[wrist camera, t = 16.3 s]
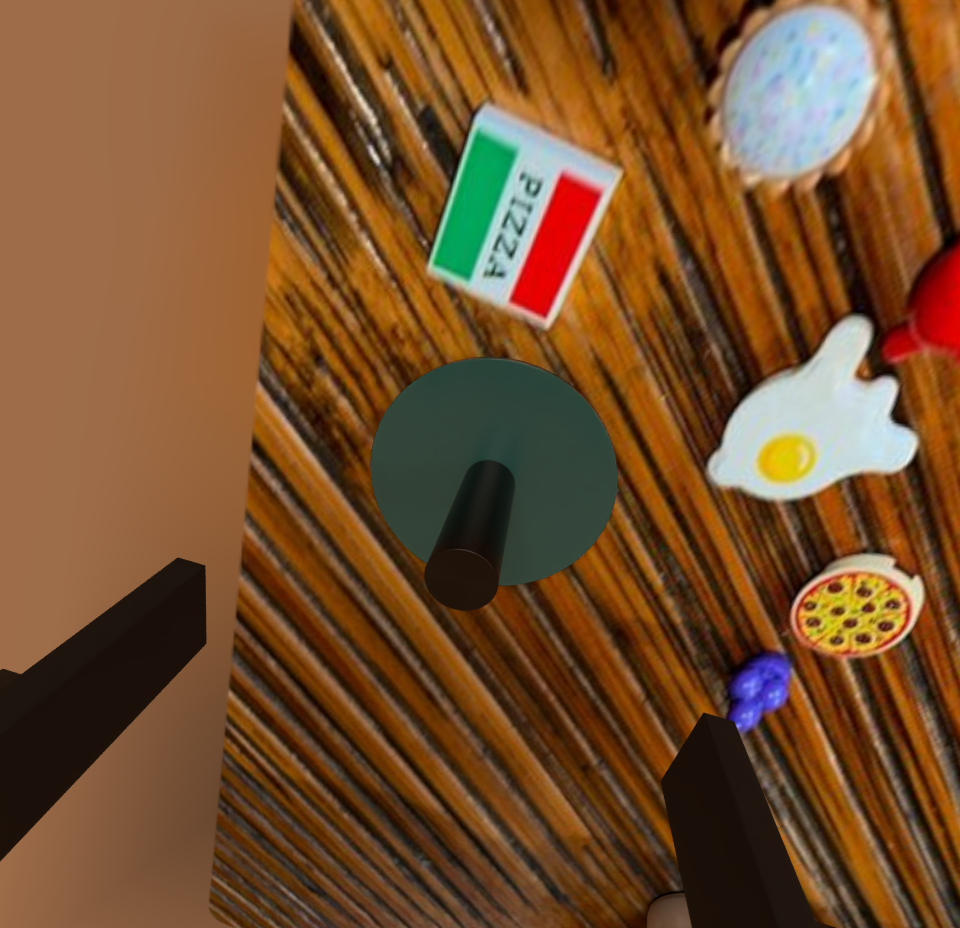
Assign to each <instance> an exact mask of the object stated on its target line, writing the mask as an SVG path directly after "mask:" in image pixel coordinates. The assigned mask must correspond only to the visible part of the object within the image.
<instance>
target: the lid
mask: <svg viewBox="0 0 960 928" xmlns="http://www.w3.org/2000/svg"><path fill="white" fill-rule="evenodd" d="M370 466H371V480H372V485H373V490H374V495H375V498H376V501H377V504H378V507H379V509H380V511H381V513H382V515H383V517H384V519H385V521H386V522H387V524H388V525H389V527H390V529H391V530H392V532H393V533H394V534H395V535H396V537H397V538H398V539H399V540H400V541H401V543H402V544H403V545H404V546H405V547H406V548H407V549H409V550H410V551H411V552H412V553H413V554H414V555H415V556H417V557H418V558H419V559H421V560H422V561H423V562H425V563H426V564H427V565H426V568H425V573H424V578H425V583H426V586H427V588H428V590H429V592H430V594H431V595H432V596H433V597H434V598H435V599H436V600H437V601H438V602H440V603H441V604H443V605H445V606H447V607H449V608H452V609H455V610H461V611H470V610H476V609H479V608H481V607H483V606H485V605H486V604H488V603H489V602H490V601H491V600H492V599H493V598H494V596H495V594H496V592H497V589H498V586H508V585H518V584H524V583H529V582H533V581H537V580H540V579H543V578H546V577H549V576H551V575H553V574H555V573H557V572H559V571H561V570H563V569H565V568H566V567H568V566H569V565H571V564H572V563H574V562H575V561H576V560H578V559H579V558H580V557H581V556H582V555H584V554H585V553H586V552H587V551H588V550H589V548H590V547H591V546H592V545H593V544H594V543H595V542H596V540H597V539H598V537H599V536H600V534H601V533H602V532H603V530H604V528H605V526H606V524H607V522H608V520H609V518H610V516H611V513H612V510H613V506H614V503H615V498H616V492H617V476H618V471H617V464H616V456H615V453H614V449H613V446H612V442H611V439H610V437H609V434H608V432H607V430H606V428H605V426H604V423H603V422H602V420H601V419H600V417H599V415H598V414H597V412H596V411H595V409H594V408H593V407H592V406H591V404H590V403H589V402H588V401H587V400H586V399H585V397H584V396H583V395H582V394H580V393H579V392H578V391H577V390H576V389H575V388H574V387H573V386H571V385H570V384H569V383H567V382H566V381H564V380H563V379H561V378H560V377H558V376H557V375H555V374H553V373H551V372H549V371H547V370H545V369H543V368H541V367H539V366H536V365H533V364H530V363H527V362H524V361H520V360H515V359H510V358H503V357H475V358H467V359H462V360H458V361H453V362H450V363H448V364H445V365H442V366H439V367H437V368H435V369H433V370H431V371H429V372H427V373H425V374H424V375H422V376H421V377H419V378H418V379H417V380H415V381H414V382H412V383H411V384H410V385H408V386H407V387H406V388H405V389H404V390H403V391H402V392H401V393H400V394H399V395H398V396H397V397H396V398H395V400H394V401H393V402H392V404H391V405H390V406H389V408H388V409H387V411H386V412H385V414H384V416H383V418H382V419H381V421H380V423H379V426H378V429H377V431H376V434H375V437H374V442H373V446H372V451H371V464H370Z"/></svg>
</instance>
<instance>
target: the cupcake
mask: <svg viewBox="0 0 960 928" xmlns="http://www.w3.org/2000/svg"><path fill="white" fill-rule="evenodd" d="M647 928H692V926H691V922H690V917H689V912H688V908H687V903H686V898H685V893H676V894H670V895H666V896H663V897H660V898H658V899H657V900H655V901H654V902H653V903H652V904H651V905H650V908H649V911H648V915H647Z"/></svg>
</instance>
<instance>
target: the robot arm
mask: <svg viewBox="0 0 960 928" xmlns="http://www.w3.org/2000/svg"><path fill="white" fill-rule="evenodd" d="M205 578H206V576H205V565H201V564H198V563H195V562H192V561H188V560H185V559H181V558H176V559H175V560H174V561H172V562H171V563H170V564H168V565H167V566H166V567H164V568H163V569H162V570H161V571H159V572H158V573H156V574H155V575H154V576H152V577H151V578H150V579H148V580H147V581H146V582H145V583H143V584H142V585H140V586H139V587H138V588H136V589H135V590H134V591H132V592H131V593H130V594H128V595H127V596H126V597H124V598H123V599H122V600H120V601H119V602H117V603H116V604H115V605H114V606H112V607H111V608H109V609H108V610H107V611H106V612H104V613H103V614H101V615H100V616H99V617H98V618H96V619H95V620H93V621H92V622H91V623H89V624H88V625H87V626H85V627H84V628H83V629H81V630H80V631H79V632H77V633H76V634H75V635H73V636H72V637H71V638H69V639H68V640H67V641H65V642H64V643H63V644H61V645H60V646H59V647H57V648H56V649H55V650H53V651H52V652H51V653H49V654H48V655H47V656H45V657H44V658H43V659H41V660H40V661H39V662H37V663H36V664H35V665H33V666H32V667H31V668H29V669H28V670H26V671H25V672H24V673H22V674H18V673H15V672H12V671H9V670H5V669H2V670H0V861H1V860H2V859H3V858H4V857H5V856H6V855H7V854H8V853H9V852H10V851H11V849H12V848H13V847H14V846H15V845H16V844H17V843H18V842H19V841H20V840H21V839H22V838H23V837H24V836H25V835H26V834H27V833H28V831H29V830H30V829H31V828H32V827H33V826H34V825H35V824H36V823H37V822H38V821H39V820H40V819H41V818H42V817H43V816H44V814H46V812H47V811H48V810H49V809H50V808H51V807H52V806H53V805H54V804H55V803H56V802H57V801H58V800H59V799H60V798H61V797H62V796H63V794H64V793H65V792H66V791H67V790H68V789H69V788H70V787H71V786H72V785H73V784H74V783H75V782H76V781H77V780H78V779H79V778H80V777H81V775H82V774H83V773H84V772H85V771H86V770H87V769H88V768H89V767H90V766H91V765H92V764H93V763H94V762H95V761H96V759H98V757H99V756H100V755H101V754H102V753H103V752H104V751H105V750H106V749H107V748H108V747H109V746H110V745H111V744H112V743H113V742H114V741H115V739H117V737H118V736H119V735H120V734H121V733H122V732H123V731H124V730H125V729H126V728H127V727H128V726H129V725H130V724H131V723H132V722H133V721H134V719H135V718H136V717H137V716H138V715H139V714H140V713H141V712H142V711H143V710H144V709H145V708H146V707H147V706H148V705H149V703H151V701H152V700H153V699H154V698H155V697H156V696H157V695H158V694H159V693H160V692H161V691H162V690H163V689H164V688H165V687H166V686H167V685H168V684H169V682H170V681H171V680H172V679H173V678H174V677H175V676H176V675H177V674H178V673H179V672H180V671H181V670H182V669H183V668H184V667H185V666H186V664H187V663H188V662H189V661H190V660H191V659H192V658H193V657H194V656H195V655H196V654H197V653H198V652H199V651H200V650H201V649H202V647H204V646H205V644H206V584H205V583H206V579H205ZM661 785H662V790H663V795H664V799H665V804H666V809H667V813H668V818H669V823H670V828H671V832H672V837H673V842H674V846H675V851H676V856H677V860H678V865H679V870H680V875H681V879H682V884H683V889H684V893H685V898H686V903H687V908H688V912H689V917H690V922H691V926H692V928H835V927H832V926H829V925H825V924H822V923H819V922H816V921H815V919H814V917H813V914H812V912H811V909H810V907H809V904H808V902H807V900H806V897H805V895H804V892H803V890H802V887H801V885H800V882H799V880H798V877H797V875H796V872H795V870H794V868H793V865H792V863H791V860H790V858H789V855H788V853H787V850H786V848H785V845H784V843H783V840H782V838H781V836H780V833H779V831H778V828H777V826H776V823H775V821H774V818H773V816H772V813H771V811H770V808H769V806H768V804H767V801H766V799H765V796H764V794H763V791H762V789H761V786H760V784H759V781H758V779H757V776H756V774H755V772H754V769H753V767H752V764H751V762H750V759H749V757H748V754H747V752H746V749H745V747H744V744H743V742H742V740H741V737H740V735H739V732H738V730H737V727H736V725H735V722H734V721H730V720H727V719H724V718H720V717H717V716H714V715H710V714H707V713H703V714H702V716H701V717H700V719H699V721H698V722H697V724H696V725H695V727H694V729H693V730H692V732H691V733H690V735H689V737H688V738H687V740H686V741H685V743H684V745H683V746H682V748H681V749H680V751H679V753H678V754H677V756H676V757H675V759H674V761H673V762H672V764H671V765H670V767H669V769H668V770H667V772H666V773H665V775H664V777H663V778H662V780H661Z"/></svg>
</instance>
